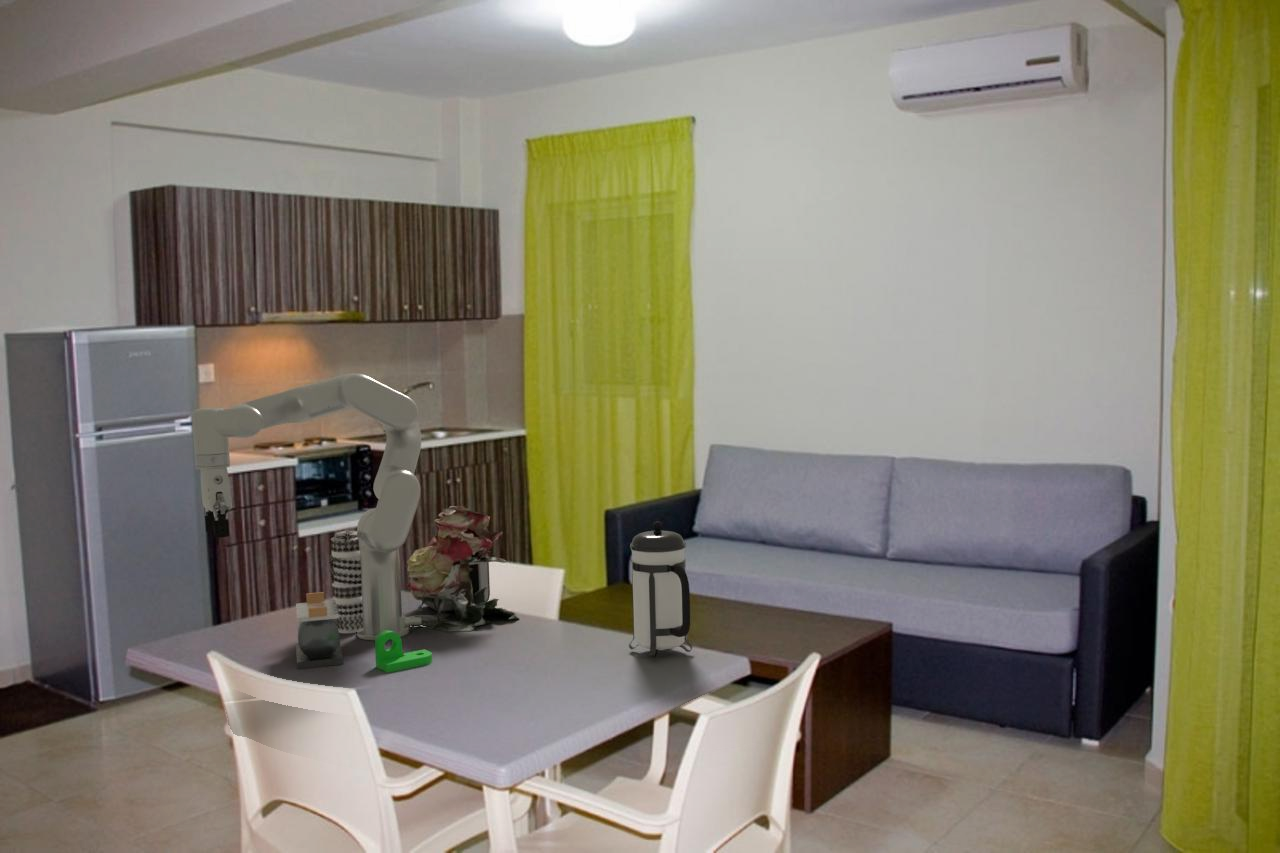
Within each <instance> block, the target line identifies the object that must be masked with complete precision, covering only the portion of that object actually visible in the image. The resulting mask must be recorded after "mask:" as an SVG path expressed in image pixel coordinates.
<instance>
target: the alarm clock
mask: <svg viewBox="0 0 1280 853" xmlns="http://www.w3.org/2000/svg"><path fill="white" fill-rule="evenodd" d="M483 557H487V556H486V555H485V556H483ZM458 563H460V561H459V560H458V561H456V562H453V565H454V566H455V565H457V564H458ZM489 563H490V562H487V563H469V568H471V569H473V570H472V571H471V572H469V578H470V579H471V582H472V588H473V594H474V593H476V592H477V591H479V590H481V589H483V588H484V587H489V588H487V589H485V592H484V595H485V598H484V599H485V602H488V601H490V596H491V595H490V594H491V593H490V592H491V590H490V589H491V588H490V564H489ZM477 567H478V568H477ZM472 572H473V573H472ZM464 597H465V598H466V599H467V598H468V597H467V596H466V595H464ZM423 605H426V606H427V607H429V608H431V609H433V610H435V611H437V612H438V599H435V601H434V602H433V603H432V602H430V601H427V602H426V603H424V604H423ZM453 611H454V612H455V610H454V609H453V607H452V606H451V604H450V603H449V601H445V602H444V604H443V608H442V610H441V612H440V613H448V612H453Z"/></svg>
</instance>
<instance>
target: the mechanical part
mask: <svg viewBox="0 0 1280 853" xmlns="http://www.w3.org/2000/svg"><path fill="white" fill-rule="evenodd" d="M389 640H391V642H392V644H391V646H390V647H389V648H388V649H386V648H385V645H386V643H387V641H389ZM374 641H375V642H374V648H375V649H374V651H375V652H374V653H375V667H376V668H377V669H379V670H381V671H384V672H385V673H388V674H389V673H394V672H398V671H402V670H407V669H412V668H416V667H421V666H426V665H429V664H432V662H433V653H432V651H429V650H427V649H425V648H424V649H419V650H414V651H409V652H405V653H403V644H402V643H403V642H402V637H400V636H399V635H398V634H397V633H395V632H392V631H389V630H387V631H383V632H382V633H380V634H379V635H378V637H377V638H376V640H374Z"/></svg>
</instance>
